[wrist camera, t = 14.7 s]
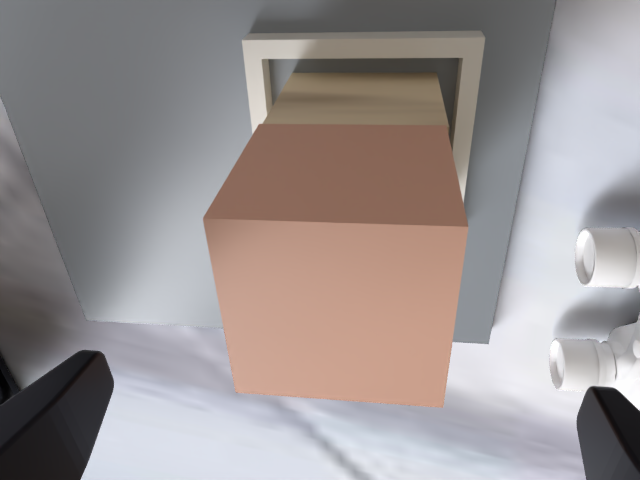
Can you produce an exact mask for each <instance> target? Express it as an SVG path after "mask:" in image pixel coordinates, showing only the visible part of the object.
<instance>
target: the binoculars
mask: <svg viewBox="0 0 640 480" xmlns="http://www.w3.org/2000/svg"><path fill="white" fill-rule="evenodd" d="M575 268H576V273H577V277H578V279H579V281H580V283H581V284H582V285H583V286H585V287H620V288H630V289H631V288H635V287H637V286H638V288H639V292H640V231H639V232H638V231H637V229H635V228H631V227H623V228H584V229H583V230H581V232H580V233H579V235H578V238H577V241H576V247H575ZM549 366H550V374H551V378H552V382H553V384H554V386H555V388H556V389H557V390H562V391H581V392H586V391H587V389H588V388H589V387H590V386H604V387H613V388H615V389H617V390H618V391H620V392H621V393H622V394H623V395H624V396H625V397H626V398H627V399H628V400H629V401H630V402H631V403H632V404H633V405H634V406H635V407H636V408H637V409H639V410H640V314H639V317H638V320H637V322H636V323H632V324H628V325H624V326H621V327H617V328H614V329H613V330H612V331H611V333H610V334H609V337H608V340H607V341H603V342H602V343H600V342H599V341H598V340H596V339H563V338H556V339H554V340H553V341H552V343H551V347H550V353H549Z"/></svg>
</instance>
